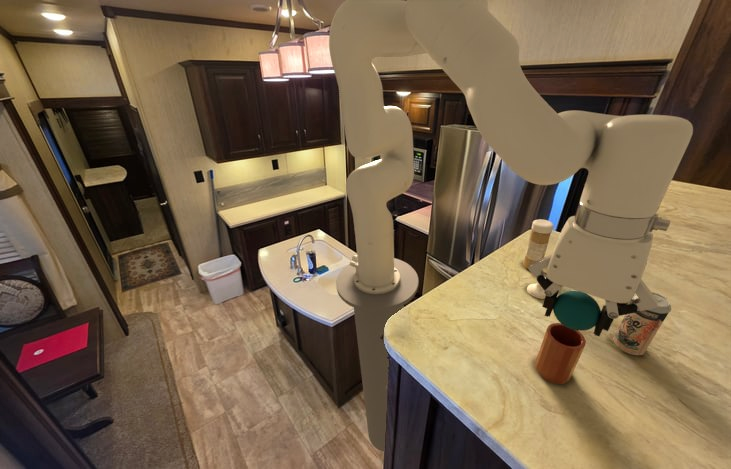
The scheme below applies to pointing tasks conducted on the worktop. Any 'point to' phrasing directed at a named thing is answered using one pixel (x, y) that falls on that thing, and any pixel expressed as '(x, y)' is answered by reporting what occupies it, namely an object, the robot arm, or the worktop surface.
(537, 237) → the sprinkles bottle
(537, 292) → the chess piece
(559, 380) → the tumbler
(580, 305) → the ball
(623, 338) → the beer can
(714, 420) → the worktop surface
